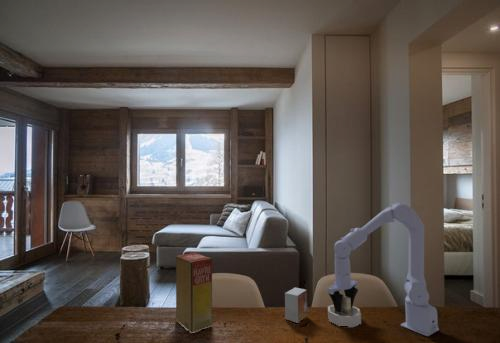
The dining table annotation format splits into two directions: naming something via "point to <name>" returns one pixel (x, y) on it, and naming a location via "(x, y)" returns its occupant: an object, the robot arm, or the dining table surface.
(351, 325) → the bowl
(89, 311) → the dining table surface
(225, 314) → the dining table surface
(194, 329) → the food packaging
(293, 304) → the small box
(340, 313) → the clip
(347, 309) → the wood grain plank
